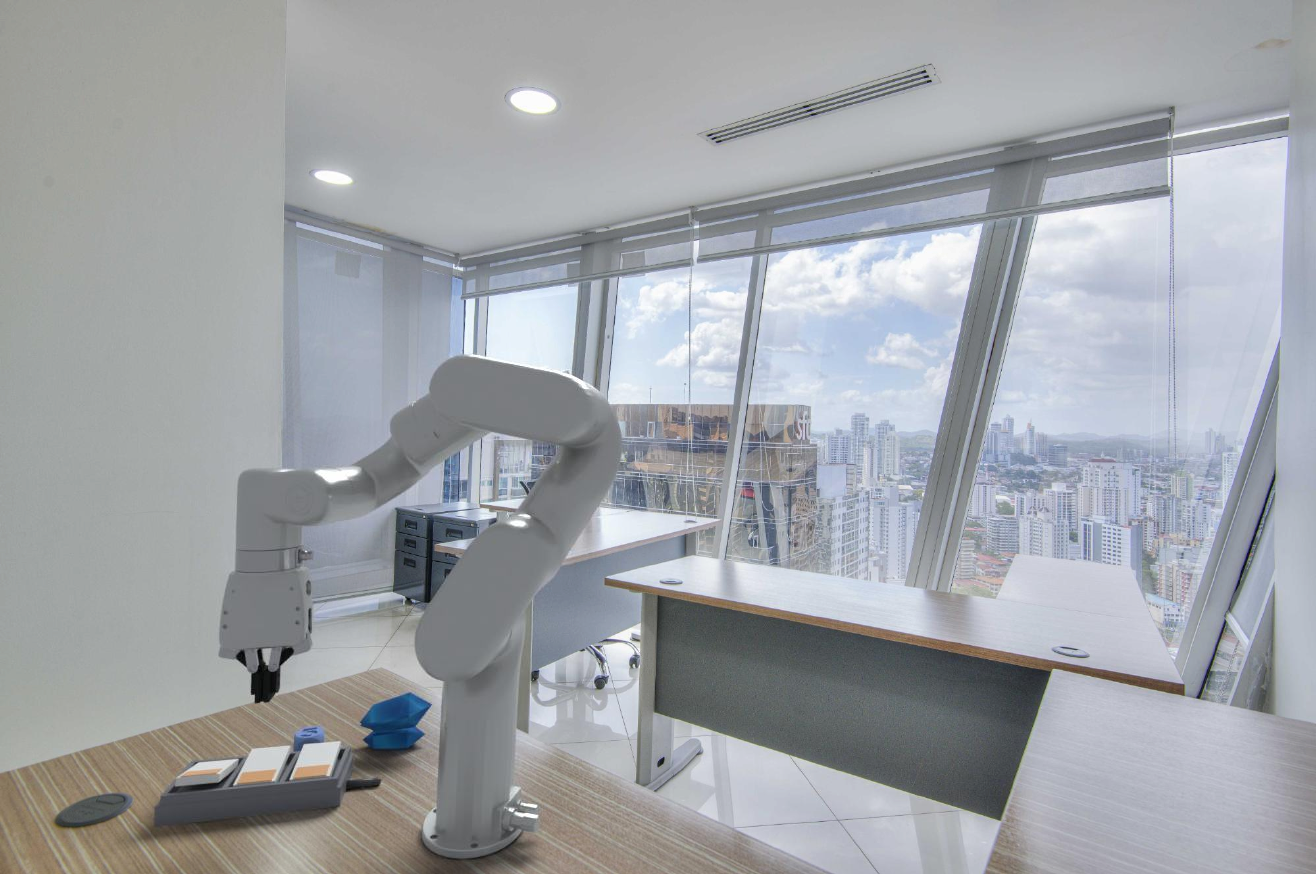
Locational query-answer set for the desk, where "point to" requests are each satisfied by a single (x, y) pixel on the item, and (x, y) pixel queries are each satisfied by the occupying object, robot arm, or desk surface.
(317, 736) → the decorative dice
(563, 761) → the desk surface
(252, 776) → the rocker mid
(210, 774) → the rocker
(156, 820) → the strip
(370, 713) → the crystal
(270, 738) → the desk surface
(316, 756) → the rocker
